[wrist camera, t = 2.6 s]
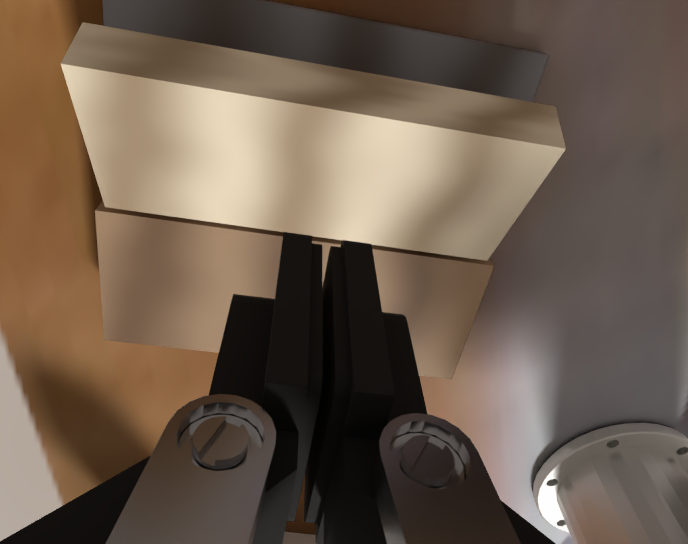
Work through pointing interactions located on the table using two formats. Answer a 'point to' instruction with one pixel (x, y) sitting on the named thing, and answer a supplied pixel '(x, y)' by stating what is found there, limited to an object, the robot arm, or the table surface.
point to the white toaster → (298, 538)
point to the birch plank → (304, 144)
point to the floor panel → (337, 42)
